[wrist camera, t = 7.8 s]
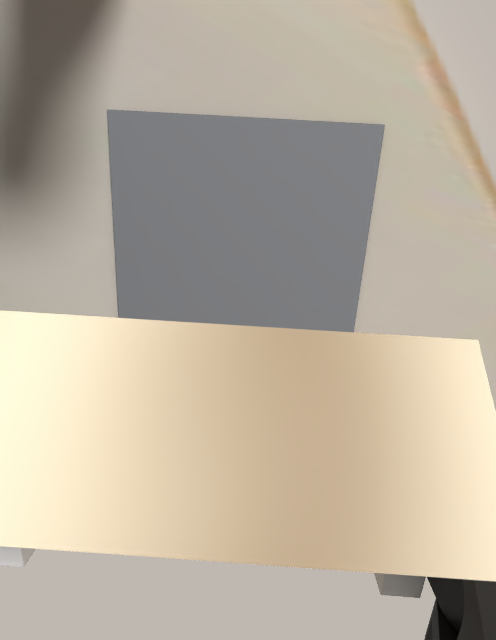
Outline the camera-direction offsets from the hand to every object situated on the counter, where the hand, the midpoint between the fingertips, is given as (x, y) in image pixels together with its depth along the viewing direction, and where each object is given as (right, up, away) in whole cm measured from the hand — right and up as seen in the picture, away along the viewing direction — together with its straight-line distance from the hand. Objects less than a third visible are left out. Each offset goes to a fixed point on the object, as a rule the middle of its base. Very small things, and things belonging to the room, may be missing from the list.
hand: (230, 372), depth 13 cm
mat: (0, +7, +15) cm, 17 cm away
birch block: (0, -5, +2) cm, 5 cm away
